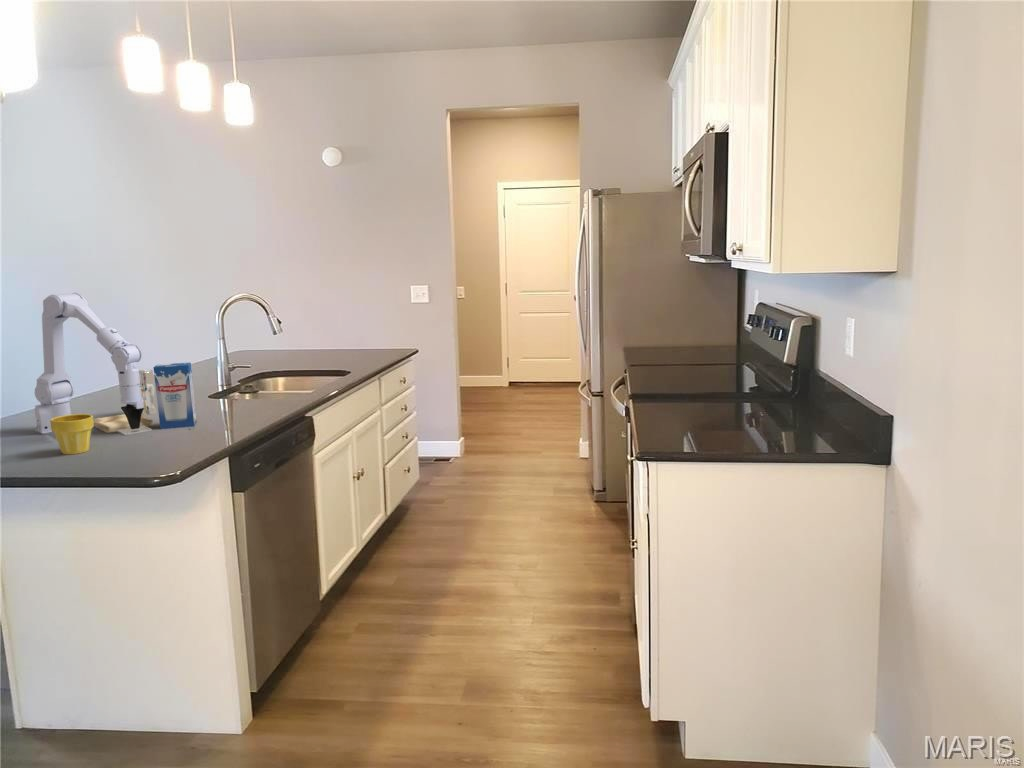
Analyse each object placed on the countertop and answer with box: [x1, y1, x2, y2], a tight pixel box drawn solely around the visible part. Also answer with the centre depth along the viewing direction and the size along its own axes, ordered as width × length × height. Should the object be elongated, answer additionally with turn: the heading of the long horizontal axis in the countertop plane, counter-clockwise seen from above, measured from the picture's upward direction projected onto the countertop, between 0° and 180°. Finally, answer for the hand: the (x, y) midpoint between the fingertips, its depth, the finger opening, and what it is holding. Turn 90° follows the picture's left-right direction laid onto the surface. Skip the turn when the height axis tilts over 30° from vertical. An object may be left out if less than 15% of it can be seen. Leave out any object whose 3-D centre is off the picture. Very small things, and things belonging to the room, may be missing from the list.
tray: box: [93, 413, 154, 434], centre depth 240 cm, size 14×17×2 cm
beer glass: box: [139, 369, 157, 416], centre depth 257 cm, size 7×7×15 cm
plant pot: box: [50, 413, 95, 455], centre depth 210 cm, size 10×10×10 cm
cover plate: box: [116, 426, 153, 436], centre depth 232 cm, size 8×7×2 cm
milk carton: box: [153, 362, 198, 430], centre depth 235 cm, size 10×6×20 cm, turn 105°
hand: (135, 428), depth 231 cm, fingers closed
